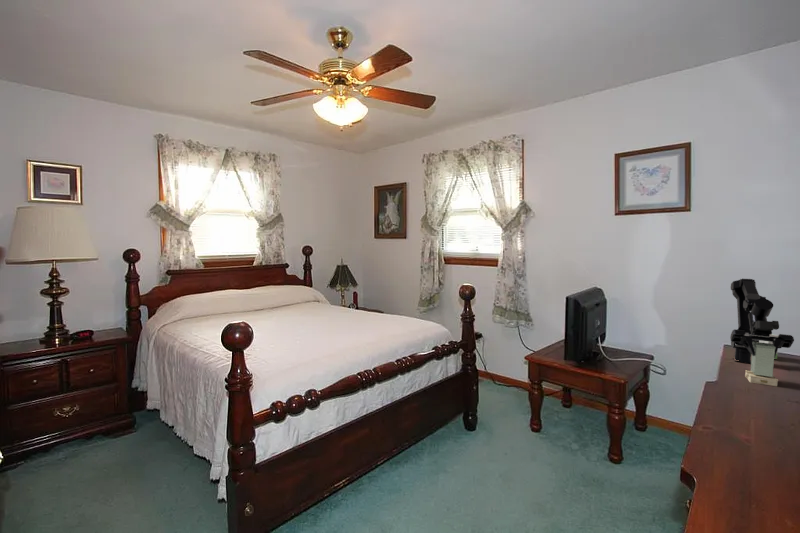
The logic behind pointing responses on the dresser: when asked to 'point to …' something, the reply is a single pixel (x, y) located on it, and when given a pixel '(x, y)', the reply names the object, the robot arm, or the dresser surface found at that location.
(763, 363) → the green lidded box
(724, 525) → the dresser surface
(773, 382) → the jewelry box
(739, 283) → the robot arm
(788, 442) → the dresser surface
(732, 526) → the dresser surface
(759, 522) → the dresser surface
